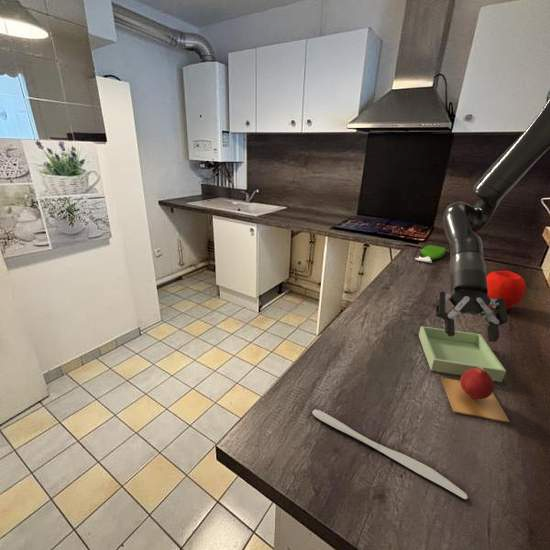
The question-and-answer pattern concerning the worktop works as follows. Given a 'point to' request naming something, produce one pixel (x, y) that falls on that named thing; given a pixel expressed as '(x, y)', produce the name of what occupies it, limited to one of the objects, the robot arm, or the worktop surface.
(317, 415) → the butter knife
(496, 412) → the cork mat
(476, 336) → the tray
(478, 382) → the red rounded piece
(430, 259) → the spray bottle
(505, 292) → the apple
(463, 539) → the worktop surface
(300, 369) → the worktop surface
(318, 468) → the worktop surface
